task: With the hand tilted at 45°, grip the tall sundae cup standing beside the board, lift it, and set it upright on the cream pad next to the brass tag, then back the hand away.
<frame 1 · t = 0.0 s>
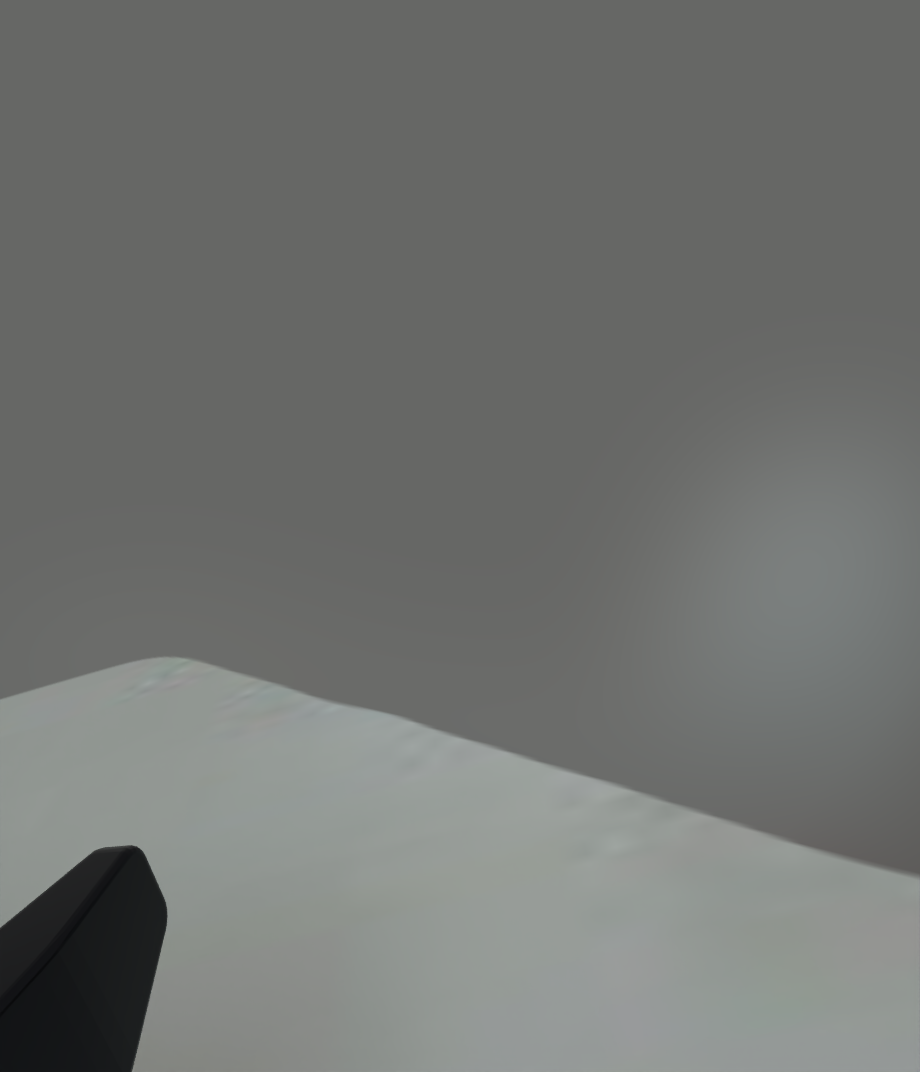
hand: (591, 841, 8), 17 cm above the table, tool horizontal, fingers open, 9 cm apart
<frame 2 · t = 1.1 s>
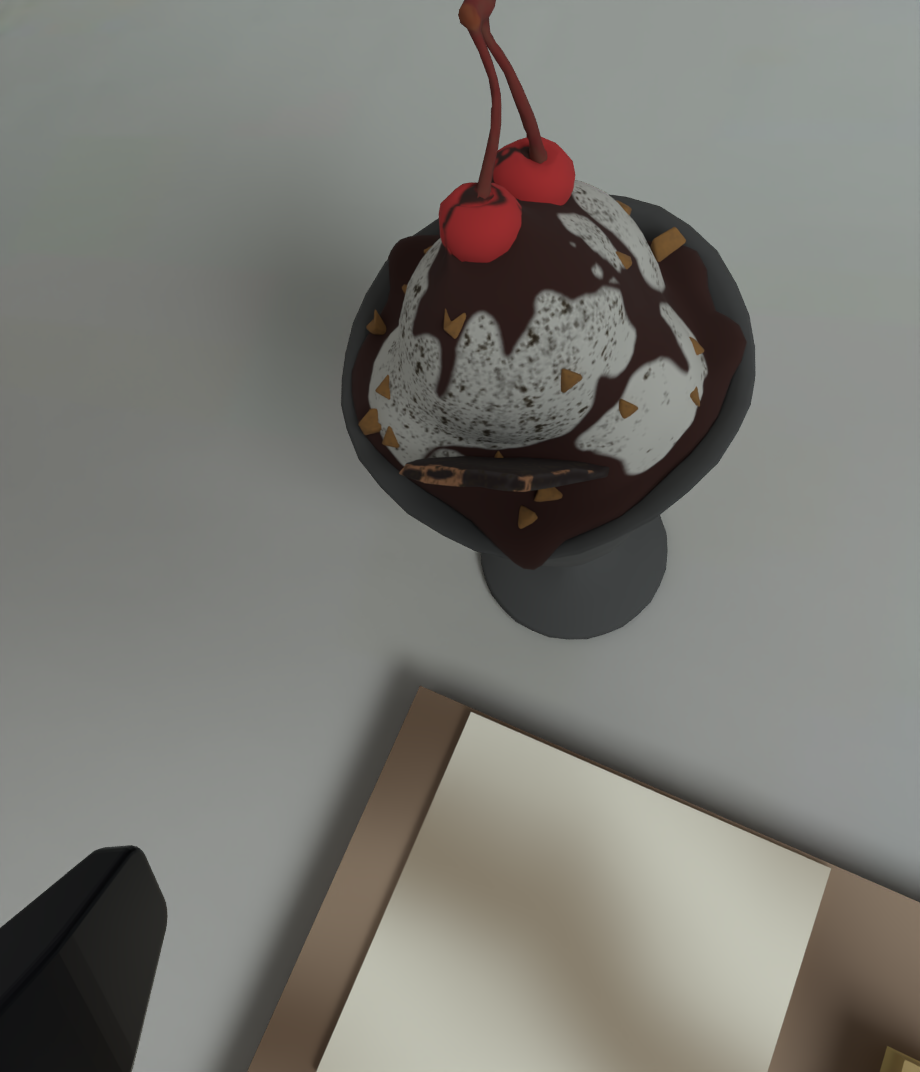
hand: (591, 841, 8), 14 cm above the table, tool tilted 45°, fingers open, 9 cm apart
sundae: (571, 550, 24), on the table
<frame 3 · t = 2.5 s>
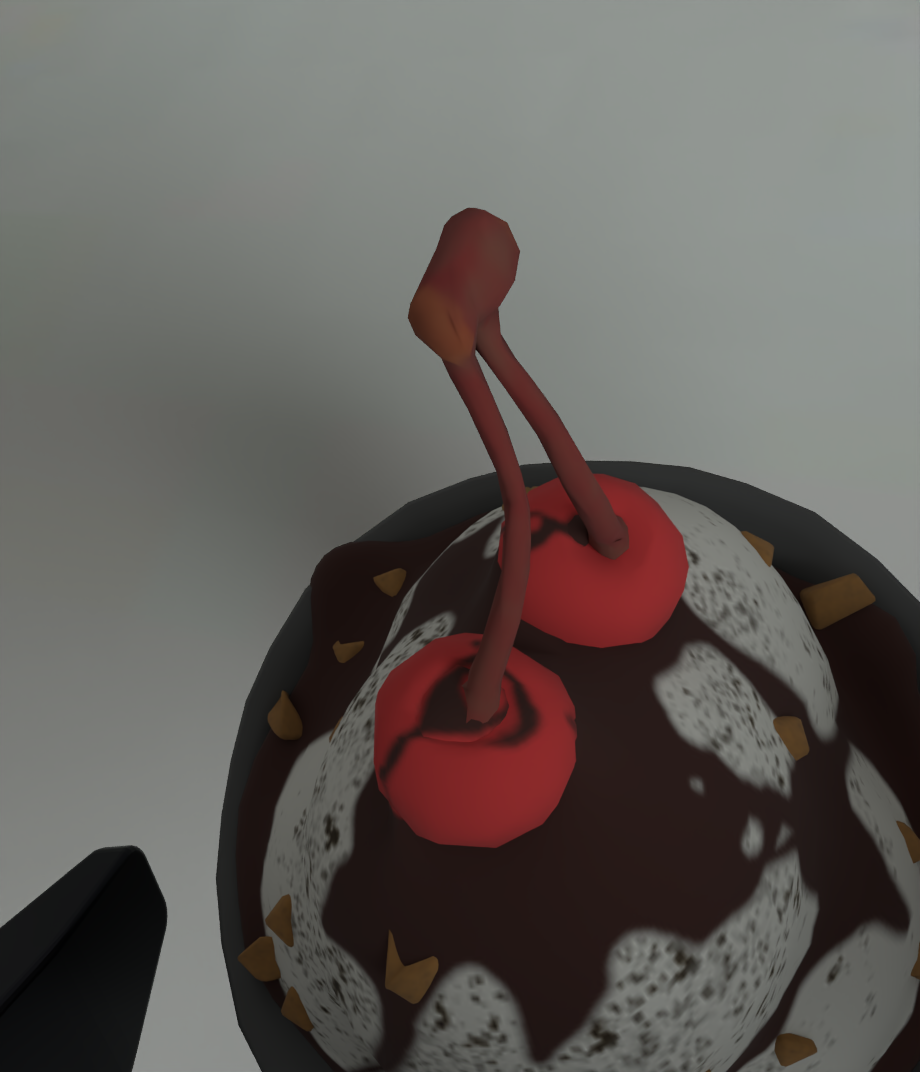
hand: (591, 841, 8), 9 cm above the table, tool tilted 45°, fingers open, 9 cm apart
sundae: (606, 830, 17), on the table
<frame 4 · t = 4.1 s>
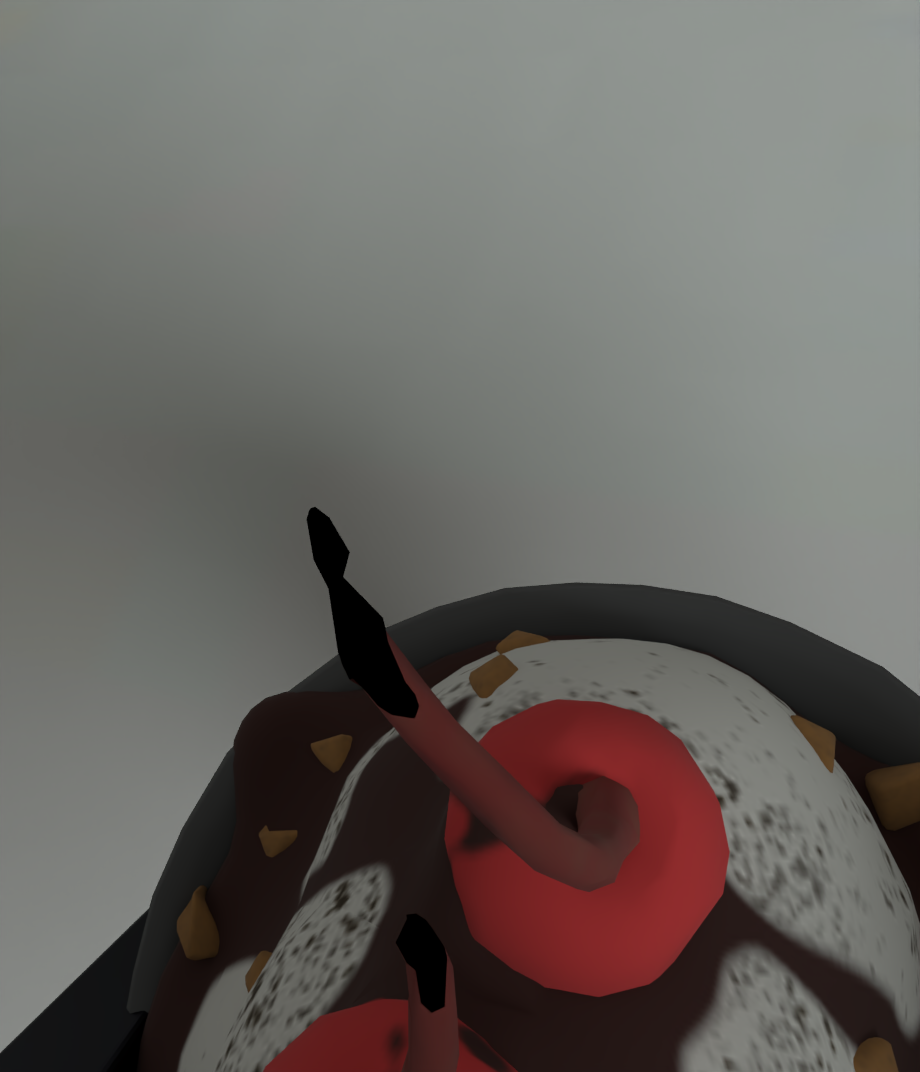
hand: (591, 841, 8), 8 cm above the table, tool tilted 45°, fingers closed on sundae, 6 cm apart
sundae: (615, 925, 15), on the table, touching gripper
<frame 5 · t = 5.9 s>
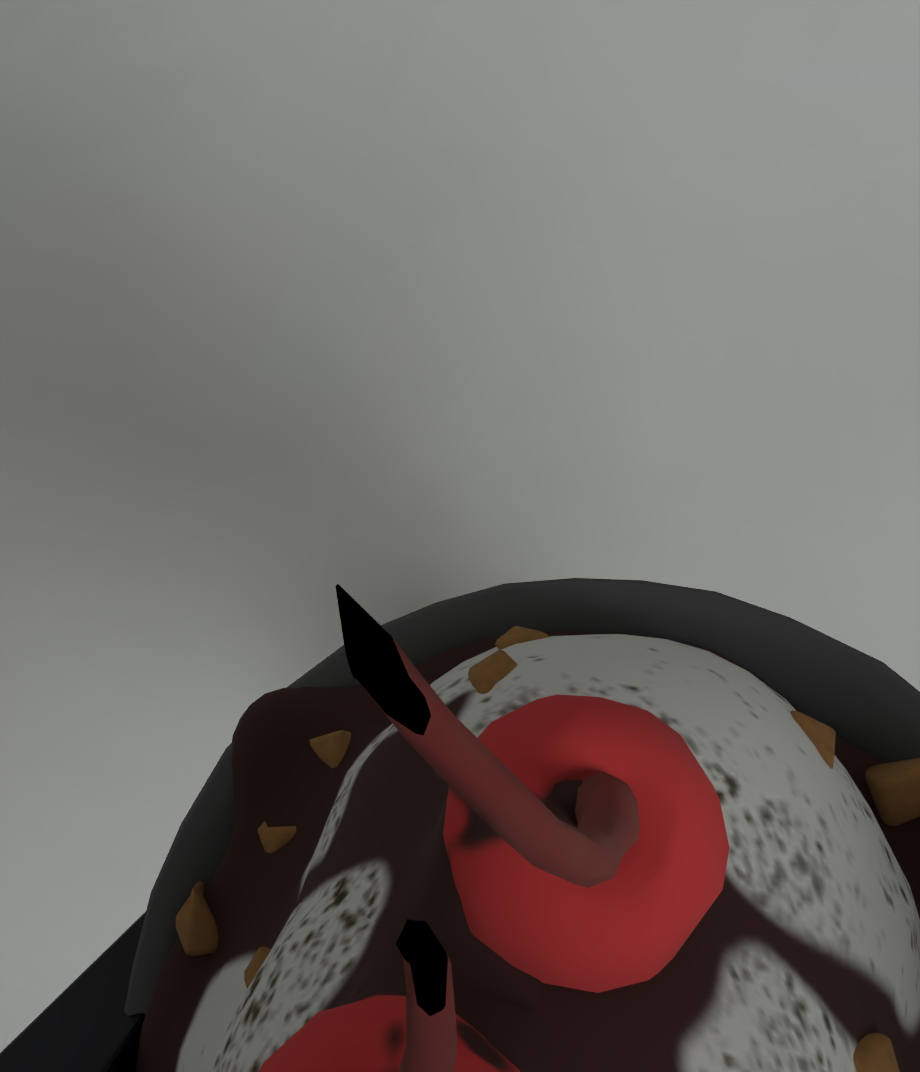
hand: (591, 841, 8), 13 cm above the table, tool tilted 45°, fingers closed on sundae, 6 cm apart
sundae: (614, 921, 15), point 5 cm above the table, touching gripper
when the fingers open (10 cm above the table, at t = 7.7 s): sundae drops 1 cm, resting on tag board.
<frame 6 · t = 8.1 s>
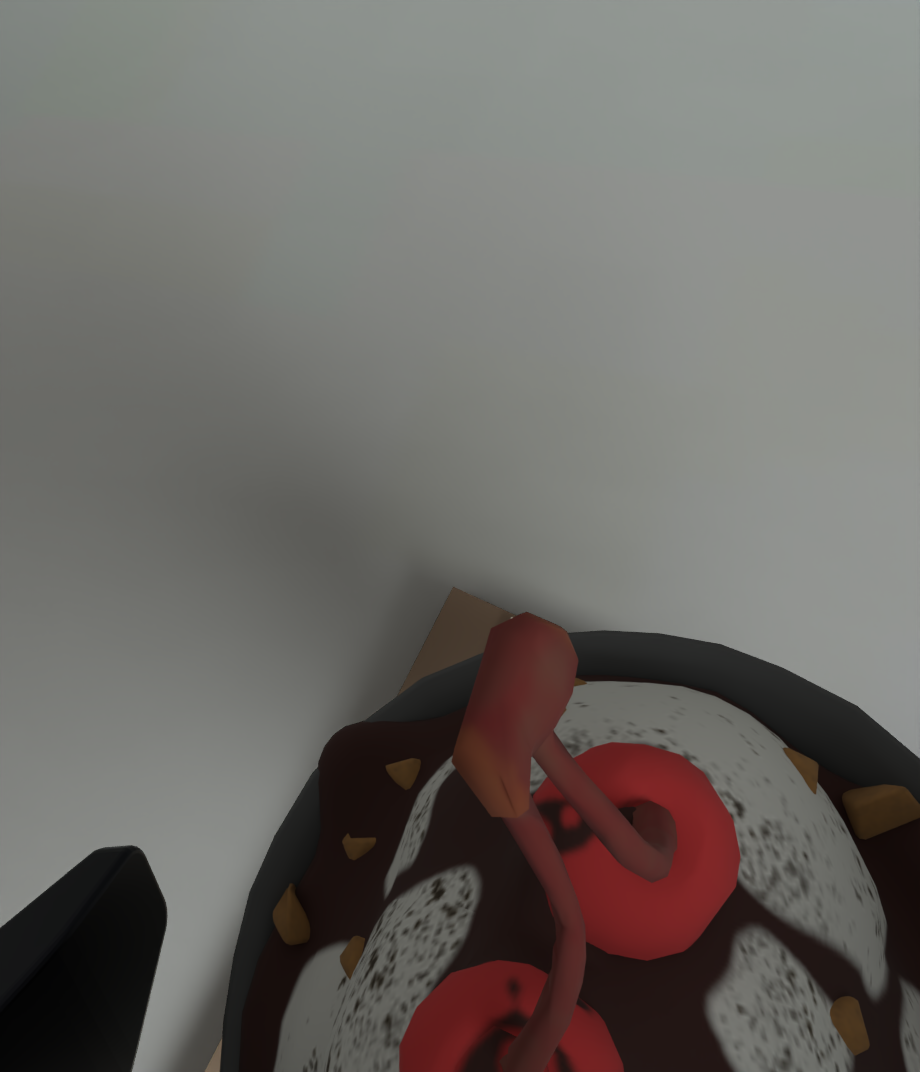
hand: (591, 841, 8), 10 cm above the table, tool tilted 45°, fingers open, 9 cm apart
sundae: (616, 924, 16), point 1 cm above the table, touching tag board
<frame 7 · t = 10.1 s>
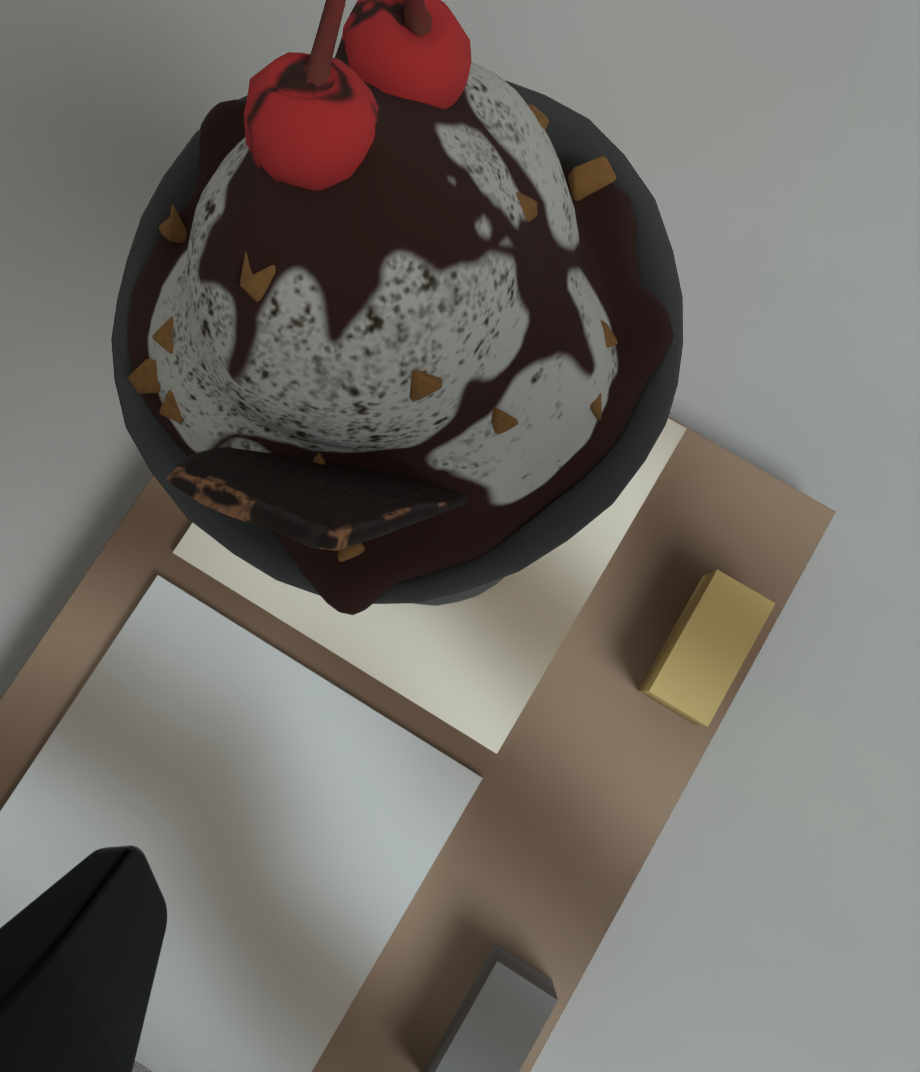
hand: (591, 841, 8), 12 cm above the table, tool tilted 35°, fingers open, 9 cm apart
sundae: (431, 498, 20), point 1 cm above the table, touching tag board
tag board: (375, 690, 20), on the table
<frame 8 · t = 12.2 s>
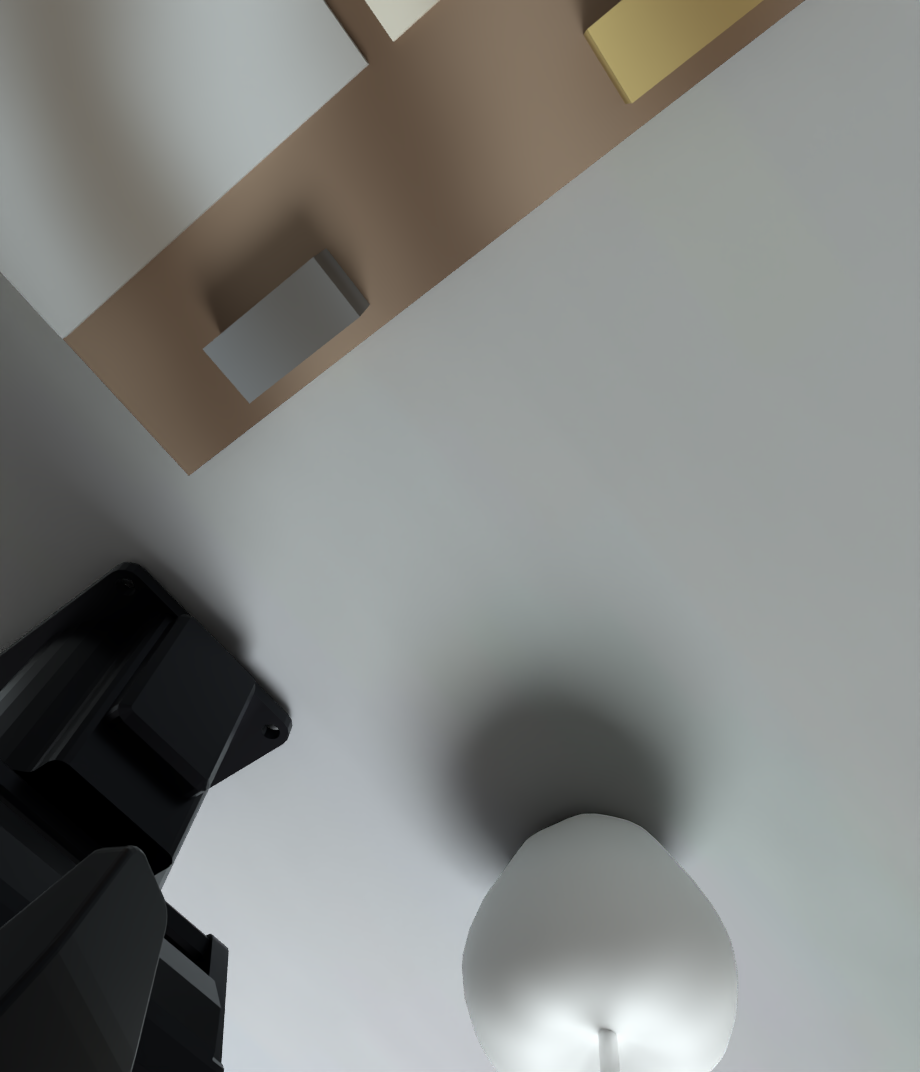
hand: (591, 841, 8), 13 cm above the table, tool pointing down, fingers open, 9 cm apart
plain white apple: (588, 856, 26), on the table
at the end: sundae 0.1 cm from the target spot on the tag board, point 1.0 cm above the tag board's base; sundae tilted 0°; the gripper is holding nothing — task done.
